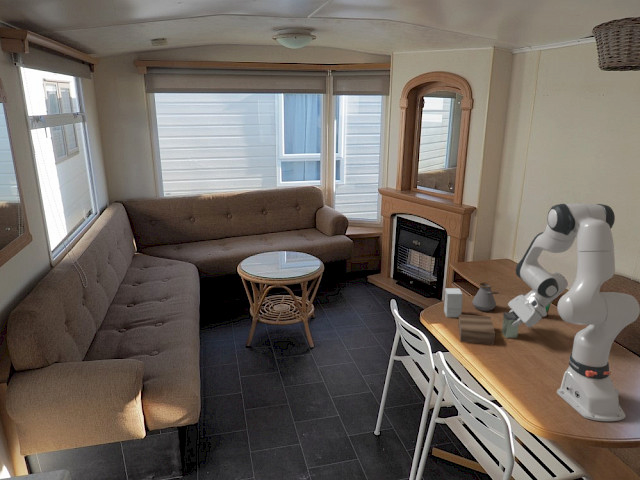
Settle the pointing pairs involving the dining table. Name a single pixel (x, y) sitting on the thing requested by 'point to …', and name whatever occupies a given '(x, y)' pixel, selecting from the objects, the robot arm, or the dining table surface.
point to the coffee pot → (484, 297)
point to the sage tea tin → (509, 325)
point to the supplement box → (453, 302)
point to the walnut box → (476, 329)
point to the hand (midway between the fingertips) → (509, 322)
